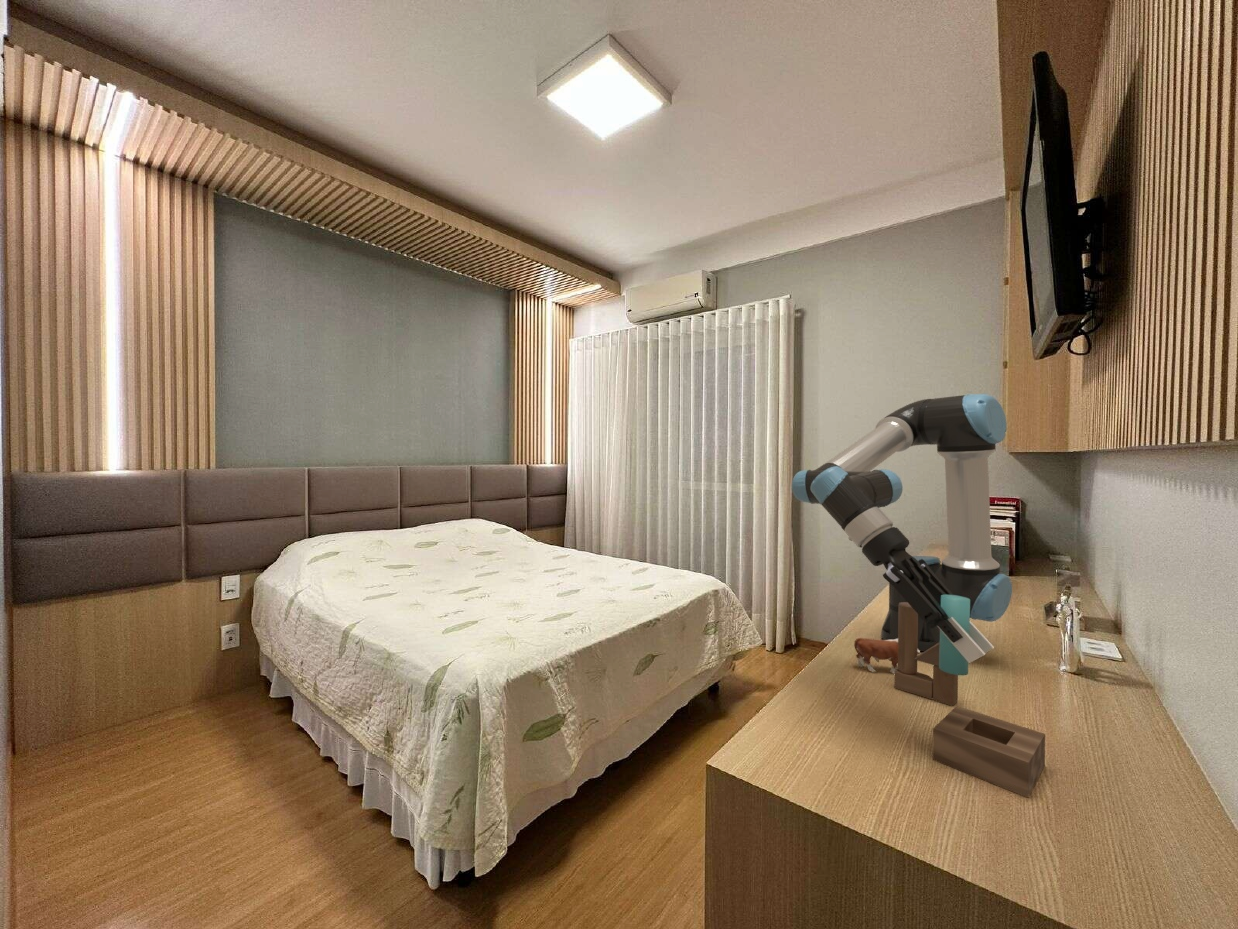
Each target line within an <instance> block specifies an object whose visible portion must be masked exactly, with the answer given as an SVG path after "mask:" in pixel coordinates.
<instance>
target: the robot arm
mask: <svg viewBox="0 0 1238 929" xmlns="http://www.w3.org/2000/svg"><path fill="white" fill-rule="evenodd" d="M1007 426H1008V425H1007V418H1006V414H1005V411H1004V409H1003V406H1002V404H1001V403H1000V402H999V401H998V400H997V398H995V397H994V396H993V395H991V394H987V393H985V394H984V393H975V394H970V393H969V394H964V395H954V396H945V397H937V398H936V397H935V398H924V399H920V400H917V401H914V402H910V403H909V404H906V405H904V406H902V407H900V408H898V409H897V410H894V411H893V412H891V413H889V414H887V415H886V416H885V417H883V418H882V419H880V420H879V421H878V422H877V423H876V425H875V428H874V429H873V430H871V431H869V433H867V434H866V435H864V436H862V437H861V438H860V439H858V440H857V441H855V442H854V443H853V444H851V445H849V446H848V447H846V449H844V450H842V451H841V452H839V453H838V454H837V455H835V456H834V457H833V458H831V459H829V460H828V461H826V462H824V463H823V464H822V465H820V466H819V467H818V468H816V469H813V470H811V469H807V470H806V469H805V470H800V471H798V472H797V473H796V474H794V476H793V478H792V481H791V490H792V494H793V497H795V499H797V500H798V501H799V502H802V503H808V504H809V503H810V504H811V505H813V504H814V505H815V504H818V505H821V506H822V507H823V508H824V510H826V511H827V512H828V514H829V515H830V516H831V517H832V518H833V520H835V521H836V523H837V524H838V525H839V526H840V527H841V529H842V531H844V532H845V533H846V535H847V536H848V540H849V541H851V542H853V543H854V544H855V545H856V546H857V547H858V548H861V553H862V554H863V555H864V557H866V559H867V560H868V561H869V563H870V564H872V565H873V566H874V567H879V566H881V565H883V566H884V568H885V570H886V572H884V573H883V574H882V577H883V578H884V580H886V581H887V583H888V612H887V614H886V617H885V620H884V622H883V625H882V627H881V630H880V632H881V634H880V636H881V637H882V638H883V639H882V638H881V637H880V638H881V639H882V640H891V639H892V640H894V639H898V609H899V603H901V602H908V603H909V604H910V606H911V607H912V608H913V609H914V610H915V611H916V612H917V613H918V649H919V651H924V652H925V651H926V650H928V649H929V648H931V647H933V646H934V645H936V644H937V643H939V642H940V630H941V631H942V632H943V634H944V635H945V636H946V637H947V638H948V639H949V641H950V642H951V643H952V644H953V645H954V646H955V647H956V649H957V650H958V651H959V652H960V653H961V654H962V656H963V657H964V658H965V659H966V660H967V661H968V664H971V663H973V662H975V661H976V660H978V659H980V658H981V657H983V656H985V655H986V654H987V652H989V651H991V650H994V648H995V646H994V645H993V644H992V643H991V642H990V641H989V640H988V638H987V637H986V636H985V635H984V634H983V633H982V631H980V630H979V629H978V628H977V627H976V625H975V624H974V623H973V622H972V621H971V620H970V624H969V635H968V634H967V633H966V631H965V630H964V629H963V628H962V627H961V626H960V625H959V624H958V623H957V621H956V620H955V619H954V618H953V617H951V618H950V619H948V618H949V617H948V615H947V614H946V613H945V611H944V610H943V609H942V607H941V595H957V596H962V597H966V598H968V599H970V619H972V620H975V621H976V620H979V621H984V622H995V621H998V620H1000V618H1002V617H1003V616H1004V615H1005V613H1006V612H1007V610H1008V607H1009V606H1010V602H1011V599H1012V595H1013V594H1012V593H1013V584H1012V581H1011V578H1010V576H1008V575H1006V574H1005V573H1001V565H1000V563H999V562H998V561H997V560H996V559H994V558H993V556H992V536H991V535H992V534H991V533H992V532H991V512H990V511H991V508H990V504H991V502H990V501H991V500H990V478H989V477H990V476H989V457H991V455H992V454H993V453H994V452H995V451H996V444H999V443H1002V441H1004V439H1006V438H1005V437H1006V432H1007V429H1008V428H1007ZM924 445H936V450H937V454H939V455H940V456H941V457H942V458H943V459H944V471H945V474H944V475H945V491H946V494H945V496H946V517H947V518H946V522H947V544H948V546H947V547H948V555H947V556H945V557H944V558H943V559H940V558H939V557H938V556H931V555H930V556H929V555H911V554H910V553H909V552H907V551H906V550H907V548H908V547H909V546H910V540H909V539H908V538H907V536H905V534H904V533H903V532H902V531H901V530H900V529H899V528H898V527H895V526H893V525H894V524H893V521H892V520H891V519H890V518H889V516H887V514H885V512H883V511H882V510H881V508H885V507H888V506H889V505H891V504H894V503H896V502H897V501H898V500H899V499H900V497H901V496H902V494H903V482H902V480H901V478H900V476H898V474H897V473H895V472H894V471H892V470H890V469H885V468H884V469H883V468H882V469H875V468H876V467H878V466H879V465H880V464H882V463H883V462H884V461H886V460H887V459H888V458H890V457H891V456H892V455H894V454H895V453H899V452H903V451H906V450H907V449H909V448H910V447H915V446H924Z"/></svg>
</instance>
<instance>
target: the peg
mask: <svg viewBox="0 0 1238 929" xmlns="http://www.w3.org/2000/svg"><path fill="white" fill-rule="evenodd" d="M941 607H942V609H943V610H944V611H945V613H946V614H947V615H948V617H949V618H948V619H950V618H951V617H953V618H954V619H955V620H956V621H957V623H958V624H959V625H960V626H961V627H962V628H963V629H964V630H965V631H966V633H967V634H968V635H969V624H970V621H971V618H970V599H968V598H966V597H962V596H957V595H941ZM939 669H940V670H942V671H944V672H947V673H950V674H954V675H958V676H967V675H968V674H969V662H968V661H967V660H966V659H965V658H964V657H963V656H962V654H961V653H960V652H959V651H958V650H957V649H956V647H955V646H954V645H953V644H952V643H951V642H950V641H949V639H948V638H947V637H946V636H945V635H944V634H943V632H942V631H941V630H940V647H939Z"/></svg>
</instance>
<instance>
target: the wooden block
mask: <svg viewBox="0 0 1238 929" xmlns="http://www.w3.org/2000/svg"><path fill="white" fill-rule="evenodd" d="M939 647H940V642H939V643H937V644H936V645H934V646H933V647H931V648H929V649H928V650H926V651H925V652H920V654H918V655H917V650H918V613H917V612H916V611H915V610H914V609H913V608H912V607H911V606H910V604H909V603H908V602H901V603H899V609H898V663H897V666H898V669H897V670H895V675H894V685H893V686H894V687H893V688H895V689H898V690H901V691H904V692H907V693H910V694H913V695H917V696H920V697H923V698H927V699H929V700H933V701H935V702H939V703H942V704H944V705H948V706H951V707H953V706H954V705H955V704H956V703H957V702H958V701H959V700H958V698H959V697H958V695H959V691H958V687H959V675H954V674H950V673H947V672H944V671H942V670H940V669H939ZM918 662H922V663H926V664H928V665H933V666H932V667H933V668H932V671H933V672H932V675H933V676H932V677H931V676H930V675H928V674H926V673H922V672H919V671H918Z"/></svg>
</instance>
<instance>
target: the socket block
mask: <svg viewBox="0 0 1238 929" xmlns="http://www.w3.org/2000/svg"><path fill="white" fill-rule="evenodd" d="M932 730H933V732H932V734H933V735H932V738H933V739H932V740H933V741H932V760H933V761H936V762H938V763H941V764H944V765H945V766H948V767H949V768H953V769H956V770H958V771H961V772H963V773H965V774H967V775H970V776H973V777H975V778H979V779H980V780H982V781H986V782H988V783H990V784H993V785H995V786H998V787H1000V788H1003V789H1005V790H1008V791H1010V792H1012V793H1015V794H1018V795H1019V796H1022V797H1025V798H1029V797H1030V795H1031V793H1032V791H1033V790H1034V787H1035V785H1036V784H1037V782H1038V780H1039V777H1040V776H1041V773H1042V772H1043V770H1044V768H1045V766H1046V765H1045V764H1046V733H1044V732H1040V731H1038V730H1034V729H1032V728H1028V727H1025V726H1021V725H1018V724H1015V723H1013V722H1010V721H1006V720H1002V719H1000V718H998V717H993V716H990V715H987V714H984V713H981V712H978V711H974V710H971V709H968V708H966V707H964V706H963V707H962V706H960V705H959V706H958V705H956V706H955V707H953V708H952V710H950V711H949V713H947V715H946V716H944V717H943V718H942V719H941V720H940V721H939V722H938V723H937V724H935V726H934V727H933V728H932Z"/></svg>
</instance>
